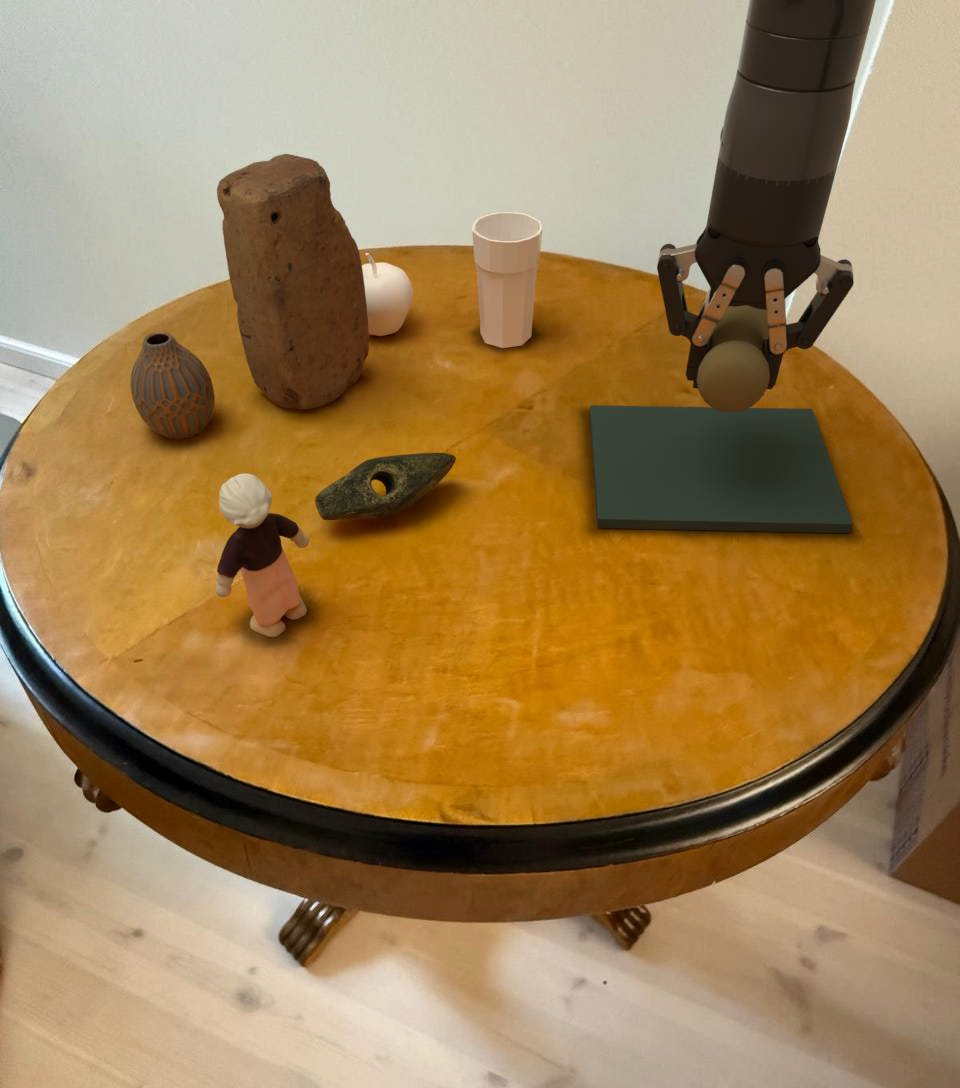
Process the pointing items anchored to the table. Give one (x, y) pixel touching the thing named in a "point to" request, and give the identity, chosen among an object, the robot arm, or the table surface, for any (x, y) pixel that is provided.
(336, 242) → the block
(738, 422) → the mat
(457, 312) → the table surface
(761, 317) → the cork
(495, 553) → the table surface
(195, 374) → the vase
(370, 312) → the plain white apple
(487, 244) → the cup
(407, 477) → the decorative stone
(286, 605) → the grandmother figurine
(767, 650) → the table surface
